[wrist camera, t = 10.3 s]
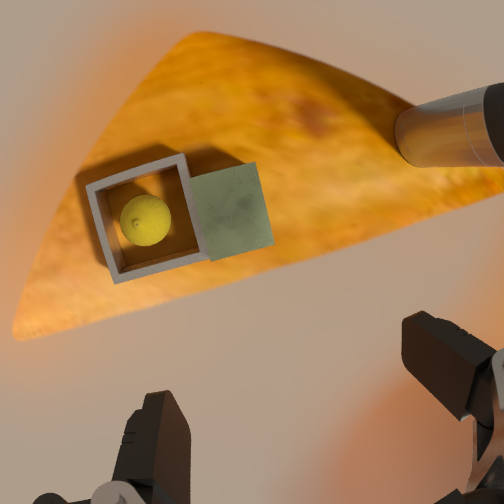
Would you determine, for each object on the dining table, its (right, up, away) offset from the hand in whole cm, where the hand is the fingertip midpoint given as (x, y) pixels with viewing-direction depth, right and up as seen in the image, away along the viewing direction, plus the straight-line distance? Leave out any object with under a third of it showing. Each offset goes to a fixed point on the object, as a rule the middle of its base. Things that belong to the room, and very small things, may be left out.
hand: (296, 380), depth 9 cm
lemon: (-13, +8, +26) cm, 30 cm away
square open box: (-10, +9, +26) cm, 29 cm away
